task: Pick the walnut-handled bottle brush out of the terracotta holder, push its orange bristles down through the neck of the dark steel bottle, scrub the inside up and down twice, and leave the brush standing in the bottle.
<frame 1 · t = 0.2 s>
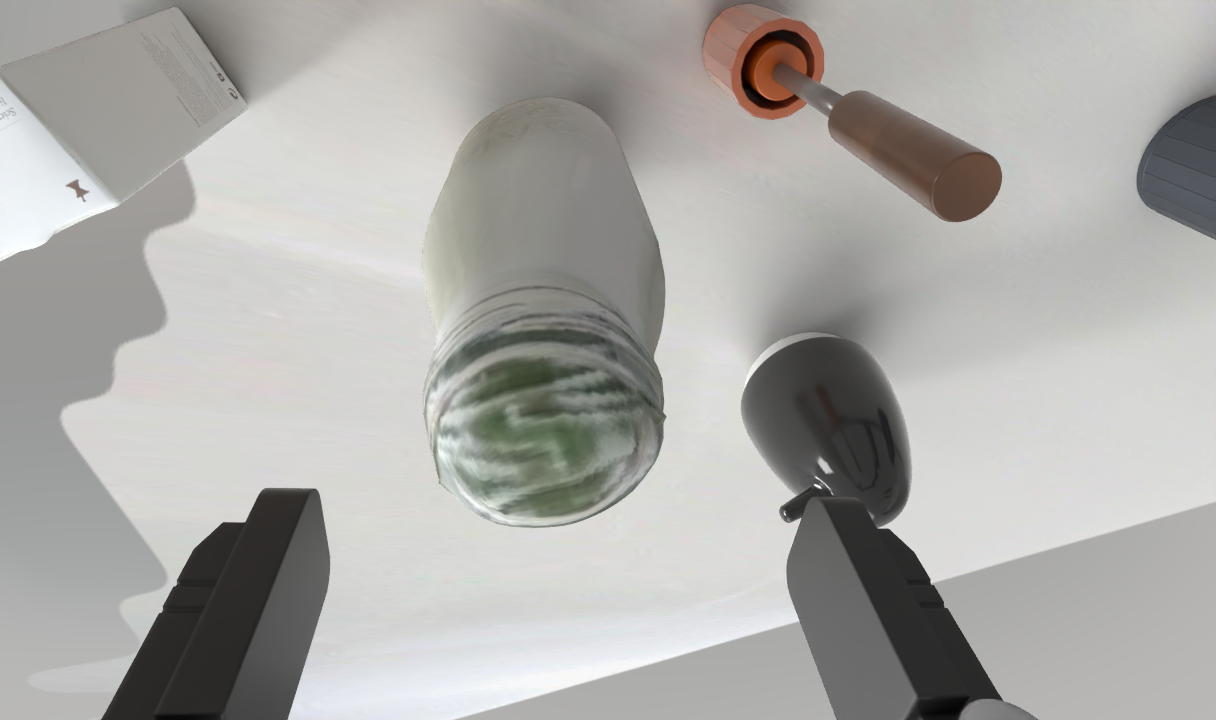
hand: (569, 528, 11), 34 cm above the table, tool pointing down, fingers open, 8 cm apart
dark egg shaped ornament: (792, 368, 52), on the table
steel bottle: (1196, 156, 46), on the table
bottle brush: (743, 49, 39), resting on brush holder
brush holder: (741, 48, 39), on the table
cosmetic box: (158, 92, 38), on the table
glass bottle: (542, 165, 42), on the table
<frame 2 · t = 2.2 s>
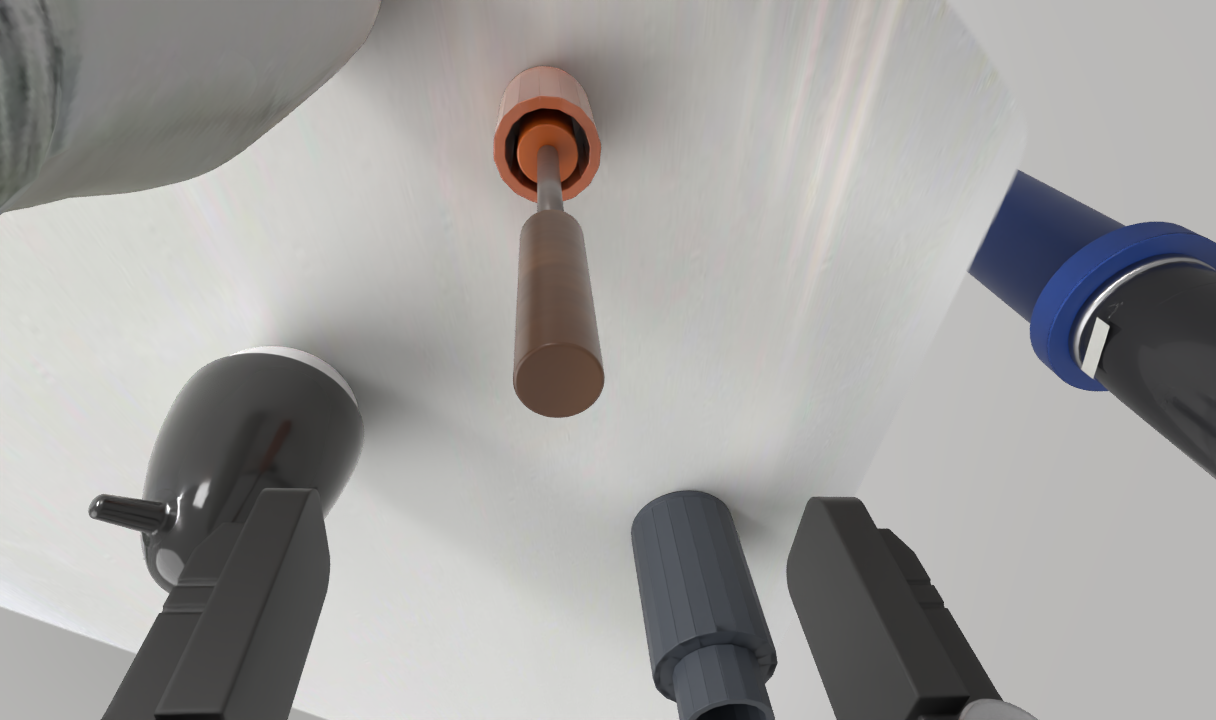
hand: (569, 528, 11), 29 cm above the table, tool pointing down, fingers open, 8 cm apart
dark egg shaped ornament: (291, 387, 43), on the table
steel bottle: (681, 527, 53), on the table
bottle brush: (545, 115, 35), resting on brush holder
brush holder: (545, 113, 36), on the table
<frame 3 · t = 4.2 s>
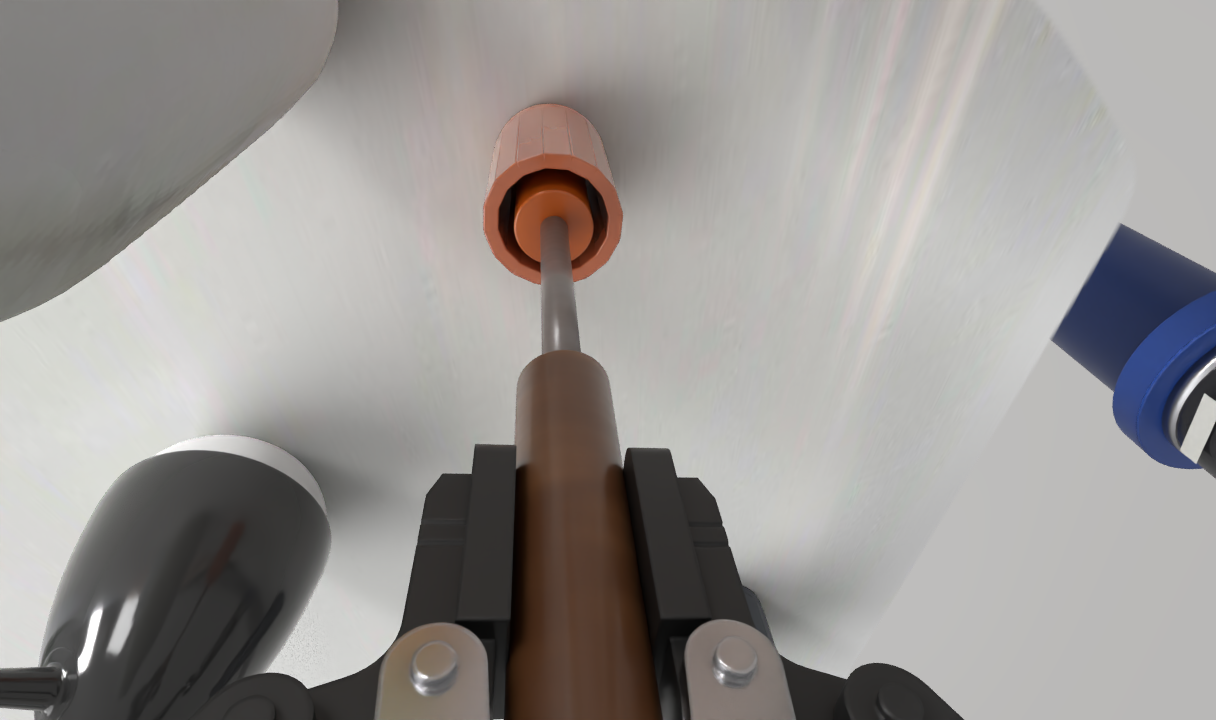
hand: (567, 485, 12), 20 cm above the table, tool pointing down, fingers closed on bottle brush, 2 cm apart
dark egg shaped ornament: (247, 476, 36), on the table
steel bottle: (704, 618, 46), on the table
bottle brush: (550, 164, 28), point 1 cm above the table, touching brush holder, gripper
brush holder: (549, 160, 29), on the table
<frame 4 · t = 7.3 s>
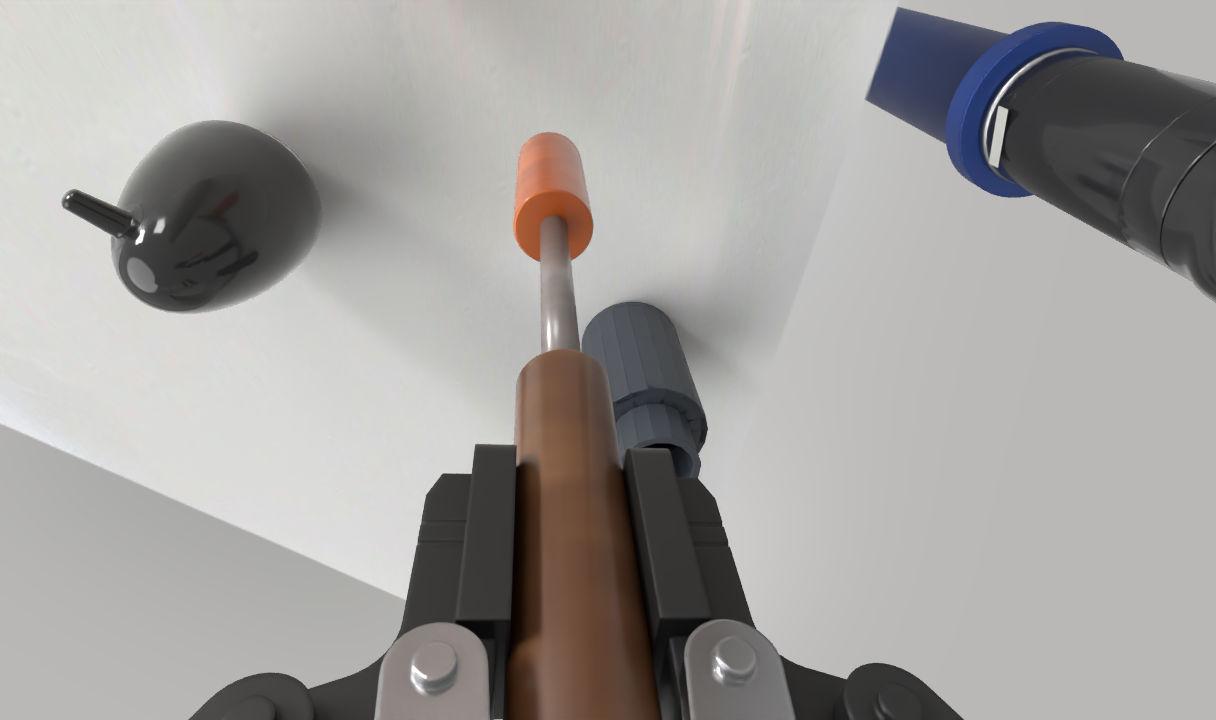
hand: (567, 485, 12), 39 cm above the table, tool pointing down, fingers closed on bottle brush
dark egg shaped ornament: (256, 181, 47), on the table
steel bottle: (629, 343, 57), on the table
bottle brush: (549, 163, 28), point 20 cm above the table, touching gripper
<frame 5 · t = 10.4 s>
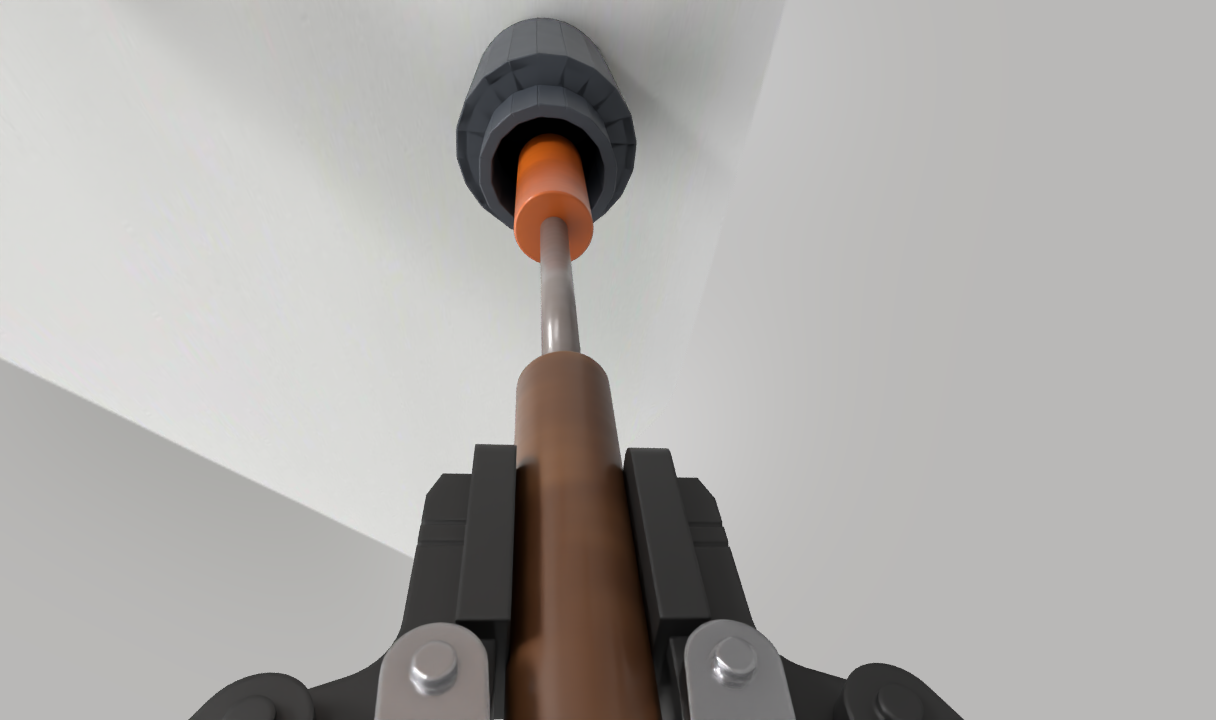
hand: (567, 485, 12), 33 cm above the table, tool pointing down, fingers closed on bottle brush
steel bottle: (544, 92, 40), on the table
bottle brush: (550, 165, 28), point 14 cm above the table, touching gripper
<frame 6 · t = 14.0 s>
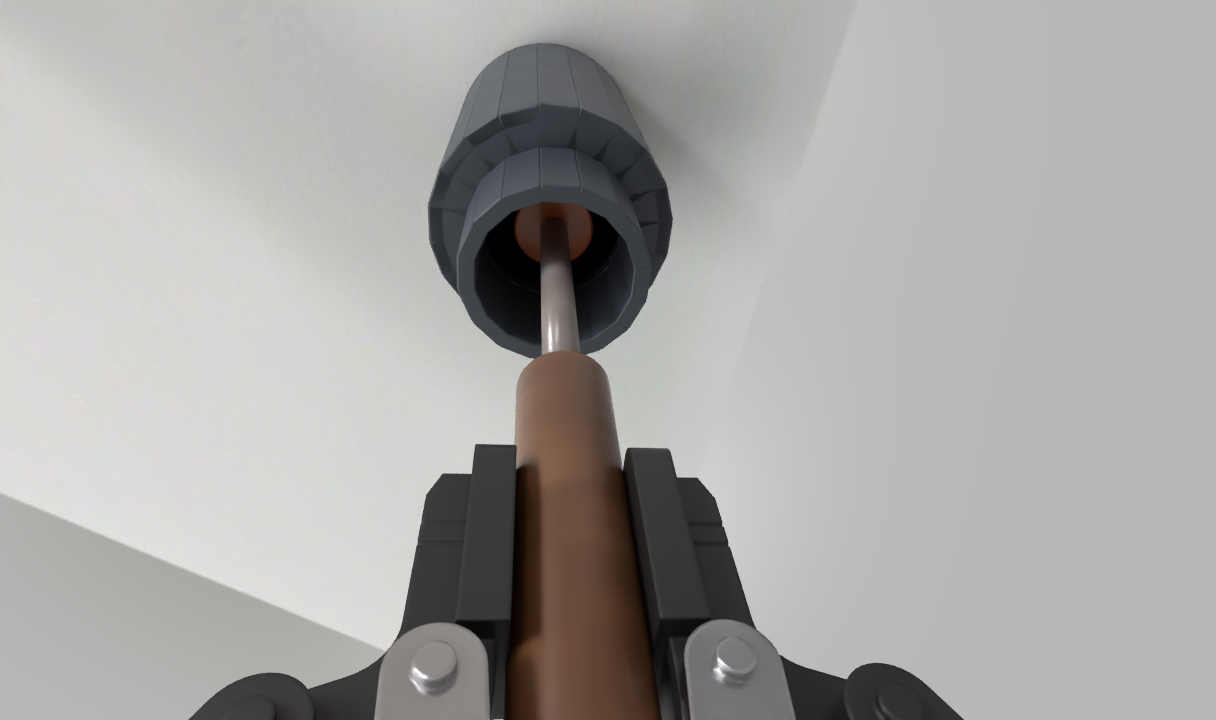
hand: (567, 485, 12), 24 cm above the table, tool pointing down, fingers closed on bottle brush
steel bottle: (546, 133, 32), on the table
bottle brush: (550, 164, 28), point 5 cm above the table, touching gripper
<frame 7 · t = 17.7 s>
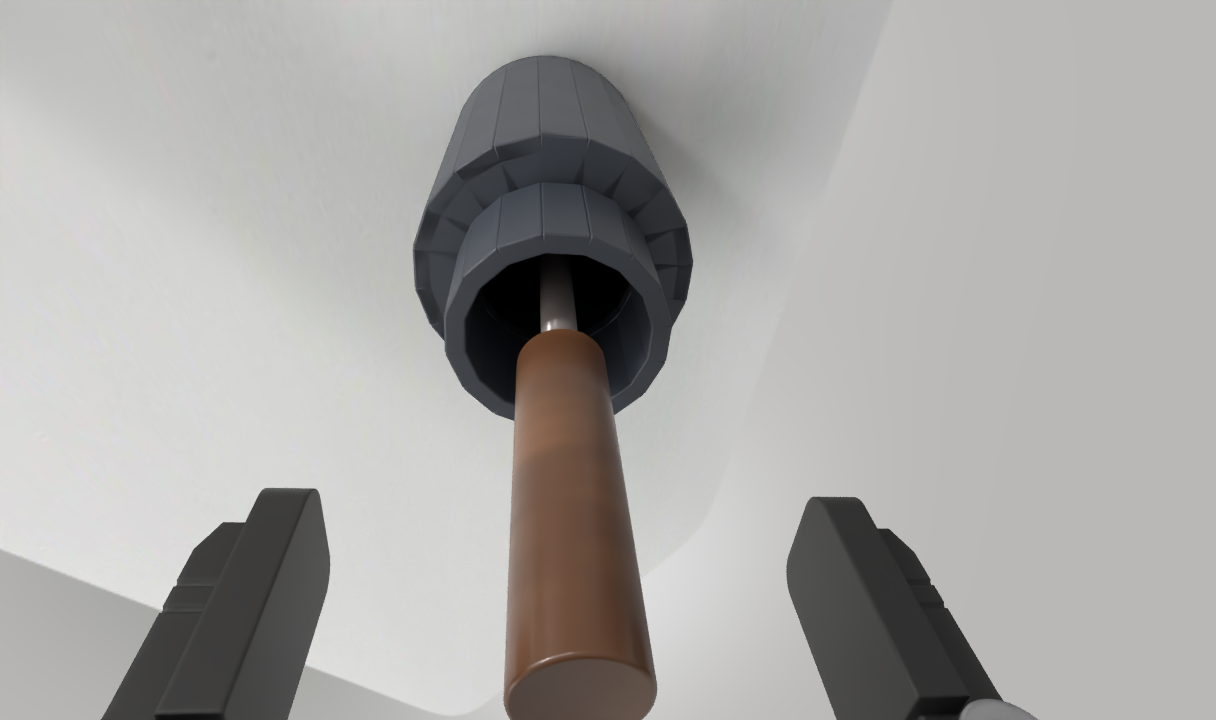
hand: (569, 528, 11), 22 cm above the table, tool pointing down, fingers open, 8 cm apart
steel bottle: (548, 153, 29), on the table
bottle brush: (548, 158, 29), point 1 cm above the table, touching steel bottle
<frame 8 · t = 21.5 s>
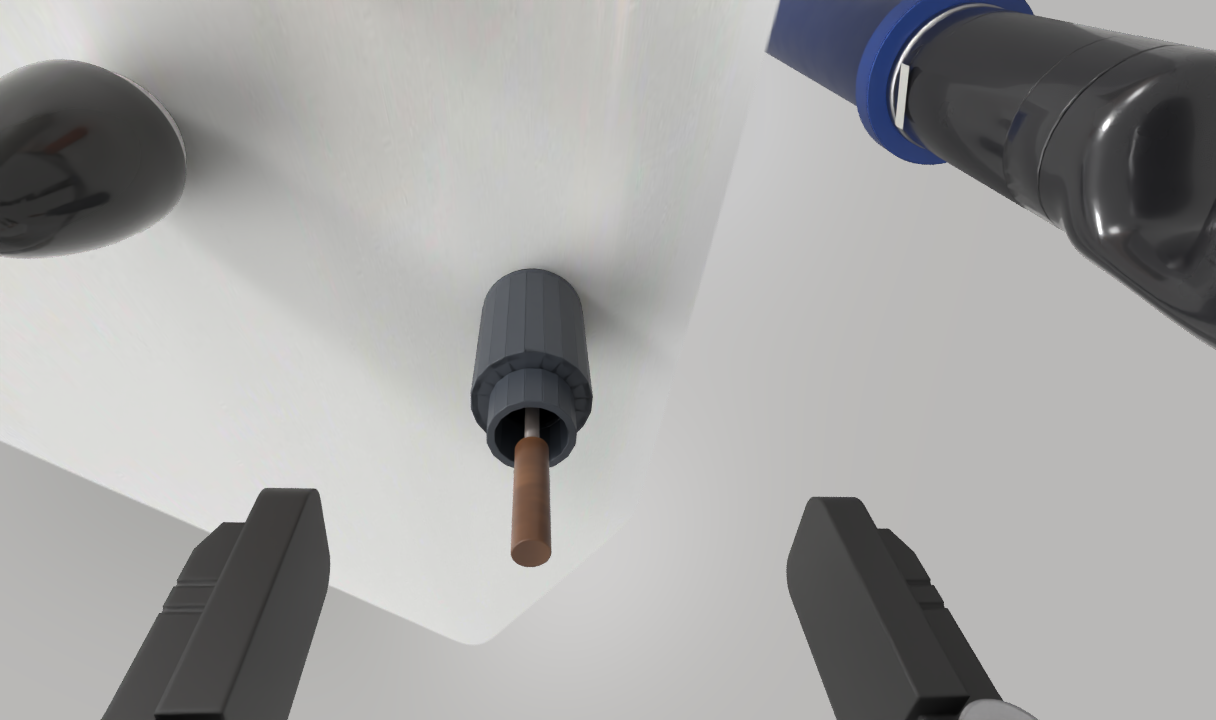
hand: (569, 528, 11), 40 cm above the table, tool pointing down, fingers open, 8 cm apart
dark egg shaped ornament: (124, 131, 45), on the table
steel bottle: (532, 313, 55), on the table
bottle brush: (532, 317, 54), point 1 cm above the table, touching steel bottle
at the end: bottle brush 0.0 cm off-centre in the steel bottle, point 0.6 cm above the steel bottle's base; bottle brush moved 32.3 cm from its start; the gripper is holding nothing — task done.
